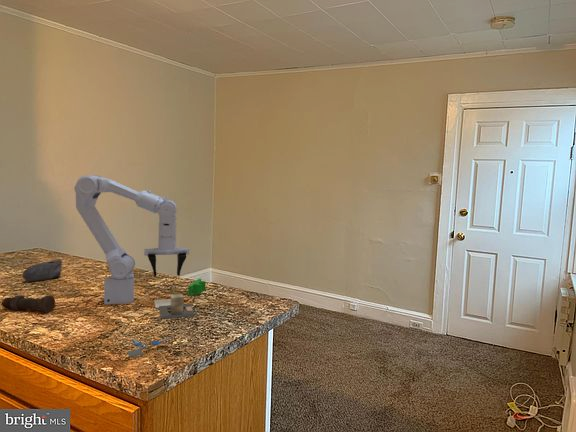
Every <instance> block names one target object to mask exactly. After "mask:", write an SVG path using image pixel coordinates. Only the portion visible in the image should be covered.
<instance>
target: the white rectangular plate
mask: <svg viewBox="0 0 576 432" xmlns="http://www.w3.org/2000/svg"><path fill="white" fill-rule="evenodd" d="M153 302H154V306H155V309H156V308H159V306H167V305H171V298H168V299H154V300H153Z"/></svg>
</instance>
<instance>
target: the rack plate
mask: <svg viewBox="0 0 576 432" xmlns="http://www.w3.org/2000/svg"><path fill="white" fill-rule="evenodd" d="M158 309H159V314H160V318H161V319H163V320H164V319H166V320H167V319H175V318H177V319H178V318H188V317H196V313H195V310H194V308H193V306H192V304H191V303H183V310H184V311H183V312H180V313H171V312H170V313H169V311H170V310H171V305H167V306H159V307H158Z"/></svg>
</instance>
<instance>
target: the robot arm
mask: <svg viewBox="0 0 576 432" xmlns="http://www.w3.org/2000/svg"><path fill="white" fill-rule="evenodd" d="M73 191H74V193H75V208H76V210H77V212H78V213H79V215H80V216H81V218H82V220H83V221H84V223H85V224H86V226H87V227H88V230H89V231H90V232H91V234H92V235H93V237H94V239H95V240H96V242H97V243H98V245H99V246H100V248H101V250H102V252H103V253H104V254H105V259H106V263H107V264H108V267H109V274H110V276H109V277H104V282H103V283H104V285H103V289H104V294H103V297H102V298H103V303H104V305H116V304H117V305H123V304H130V303H133V302H134V301H135V274H134V272H133V270H134V269H135V265H136V261H135V258H134V257H133V256H132V255H130V254H128V253H127V251H126V250H125V249H124V248H123V247H121V245H120V243H119V242H118V241H117V239H116V238H115V236H114V234H113V233H112V231H111V229H110V228H109V227H108V225H107V223H106V221H105V220H104V218H103V217H102V216H101V214H100V212H99V210H98V209H97V207H96V204H97V201H98V197H99V196H100V195H101V194H102V193H113V194H116V195H118V196H121V197H124V198H126V199H129V200H131V201H134V202H135V204H136V206H137V207H138V208H141V209H143V210H146V211H148V212H151V213H153V214H158V216H159V217H158V219H159V221H158V238H157V239H158V240H157V241H158V246H157V247H154V248H153V247H151V248H144V250H143V252H144V254H143V256H146V257H147V259H148V261H149V263H150V266H151V268H152V273H153V277H154V278H156V277H157V256H166V255H169V256H170V255H176V256H177V257H176V258H177V266H176V275H177V276H178V277H179V276H180V275H181V270H182V267H183V265H184V264H185V263H184V262H185V260H186V259H187V255H190V248H189V247H177V245H176V244H177V222H176V221H177V216H176V213H177V212H178V205H177V204H176V202H174V201H173V200H172V199H166V197H165V196H159V195H157V194H155V193H153V191H151V190H149V189H148V190H144V189H143V190H141V191H137V190H135V189H133V188H130V187H128V186H126V185H124V184H122V183H120V182H118V181H115V180H113V179H110V178H107V177H102V176H100V175H98V174H97V175H96V174H92V175H81V176H80V177H79V178H78V179H77V181H76V184H75V185H74V187H73Z"/></svg>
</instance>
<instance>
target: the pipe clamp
mask: <svg viewBox="0 0 576 432" xmlns="http://www.w3.org/2000/svg"><path fill="white" fill-rule="evenodd" d="M206 284H207V281H205V280H202V278H198V279H196V280H194V281H193V282H192V283H191V284H190V285H188V286H187V291H188V292H187V296H188V297H192V296H193V295H202V292H205V291H206Z"/></svg>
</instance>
